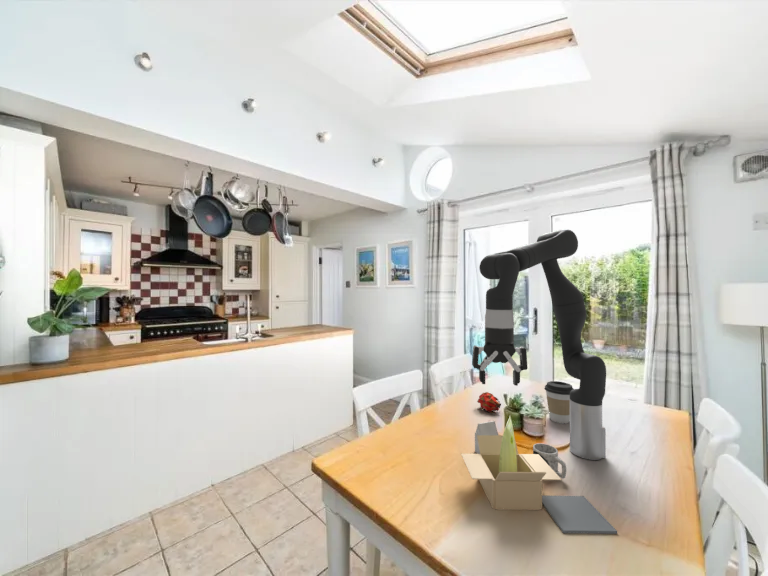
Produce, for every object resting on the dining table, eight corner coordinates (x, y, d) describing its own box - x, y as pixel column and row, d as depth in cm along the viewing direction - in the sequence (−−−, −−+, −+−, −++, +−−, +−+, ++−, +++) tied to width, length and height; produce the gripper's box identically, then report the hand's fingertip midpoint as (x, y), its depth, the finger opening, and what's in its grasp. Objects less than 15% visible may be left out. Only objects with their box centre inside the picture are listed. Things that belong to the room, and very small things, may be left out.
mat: (583, 498, 82) (583, 495, 82) (617, 533, 70) (617, 531, 70) (537, 497, 82) (537, 495, 82) (563, 533, 70) (563, 530, 70)
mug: (528, 467, 96) (528, 445, 96) (543, 462, 99) (543, 441, 99) (557, 486, 87) (557, 462, 87) (573, 480, 90) (573, 457, 90)
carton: (532, 472, 94) (532, 435, 94) (570, 519, 74) (570, 472, 74) (458, 471, 94) (458, 434, 94) (476, 517, 75) (476, 471, 75)
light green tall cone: (523, 498, 82) (523, 423, 82) (506, 501, 81) (506, 424, 81) (510, 485, 87) (510, 414, 87) (493, 487, 86) (493, 416, 86)
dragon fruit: (480, 408, 148) (498, 421, 138) (469, 400, 145) (487, 413, 134) (490, 393, 150) (509, 405, 139) (479, 385, 146) (498, 396, 135)
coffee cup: (575, 418, 133) (575, 383, 133) (575, 428, 124) (574, 390, 124) (545, 412, 139) (545, 378, 140) (542, 421, 130) (542, 385, 130)
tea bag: (498, 453, 104) (498, 423, 105) (481, 456, 102) (481, 426, 102) (491, 448, 108) (491, 419, 108) (474, 451, 106) (474, 421, 106)
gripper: (522, 324, 90) (522, 381, 90) (470, 323, 92) (470, 379, 92) (530, 327, 82) (530, 389, 82) (474, 326, 84) (474, 387, 84)
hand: (499, 384), depth 87 cm, fingers open, 8 cm apart
